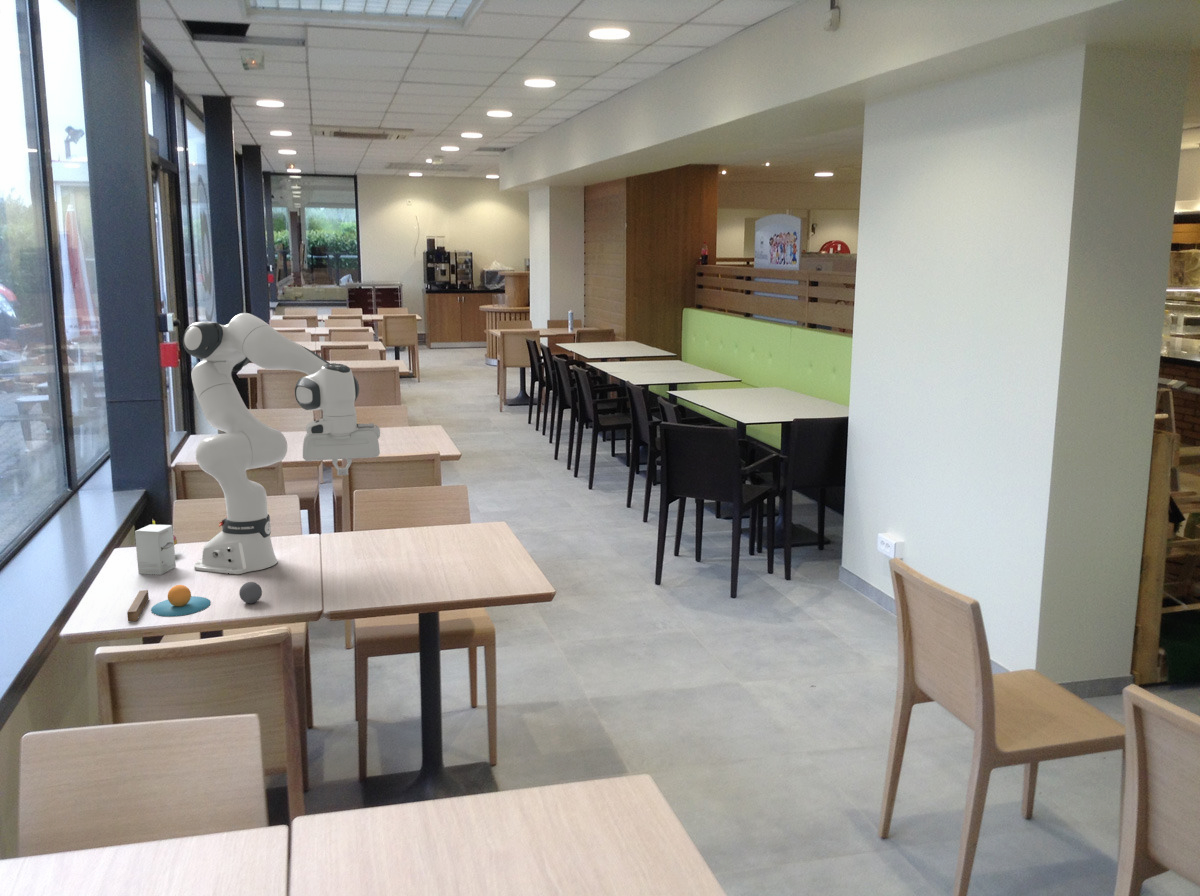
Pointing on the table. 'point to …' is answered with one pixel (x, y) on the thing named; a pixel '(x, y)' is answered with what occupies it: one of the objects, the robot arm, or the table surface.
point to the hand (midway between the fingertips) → (342, 474)
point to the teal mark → (181, 607)
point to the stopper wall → (138, 605)
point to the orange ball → (179, 595)
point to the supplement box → (155, 549)
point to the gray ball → (250, 592)
